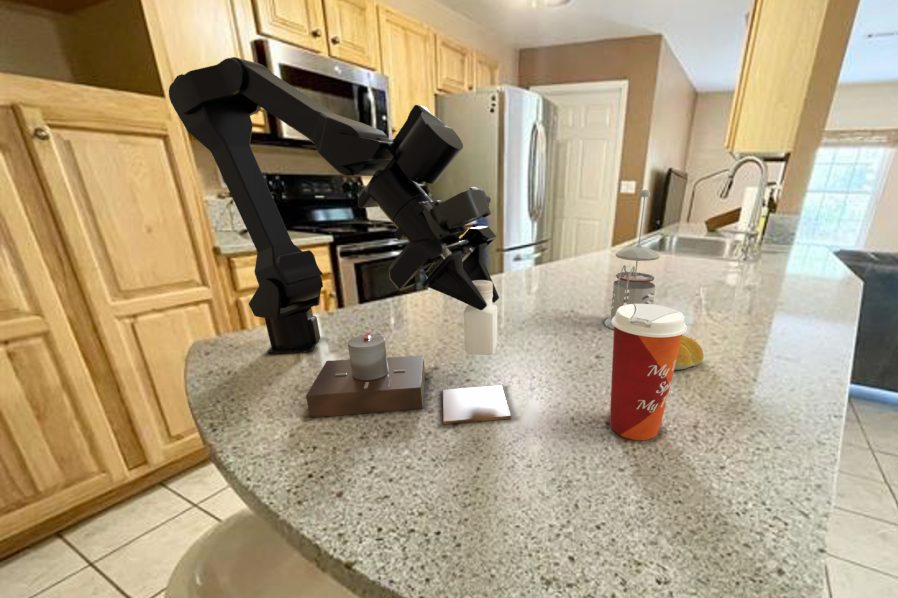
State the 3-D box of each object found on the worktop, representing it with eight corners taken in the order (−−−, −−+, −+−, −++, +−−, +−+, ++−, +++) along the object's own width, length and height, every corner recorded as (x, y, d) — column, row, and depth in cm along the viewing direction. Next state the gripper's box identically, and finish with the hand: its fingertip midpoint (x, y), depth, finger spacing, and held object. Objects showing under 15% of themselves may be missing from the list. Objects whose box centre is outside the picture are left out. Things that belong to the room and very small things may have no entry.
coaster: (443, 424, 49) (443, 421, 49) (442, 392, 56) (442, 389, 56) (511, 418, 50) (511, 415, 50) (502, 387, 58) (502, 385, 57)
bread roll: (711, 363, 66) (716, 339, 65) (674, 375, 62) (678, 351, 60) (668, 346, 73) (672, 324, 71) (632, 356, 68) (635, 333, 67)
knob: (386, 379, 53) (382, 343, 51) (349, 381, 52) (343, 345, 50) (390, 364, 57) (386, 331, 55) (355, 366, 56) (350, 333, 54)
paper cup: (657, 454, 44) (678, 329, 39) (590, 431, 48) (601, 314, 43) (676, 421, 50) (696, 309, 45) (615, 403, 54) (627, 298, 49)
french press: (661, 322, 85) (680, 190, 75) (643, 339, 76) (662, 191, 66) (615, 313, 89) (628, 188, 80) (592, 329, 80) (604, 189, 71)
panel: (310, 417, 50) (305, 394, 49) (330, 380, 59) (326, 359, 58) (422, 408, 52) (420, 386, 51) (425, 374, 61) (423, 354, 60)
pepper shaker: (494, 356, 56) (493, 286, 52) (464, 355, 56) (461, 285, 52) (498, 346, 59) (497, 279, 56) (470, 345, 60) (468, 278, 56)
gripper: (401, 160, 42) (503, 281, 43) (482, 165, 58) (555, 252, 59) (348, 235, 47) (439, 341, 48) (436, 221, 63) (503, 300, 64)
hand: (490, 304), depth 55 cm, fingers closed on pepper shaker, 3 cm apart
